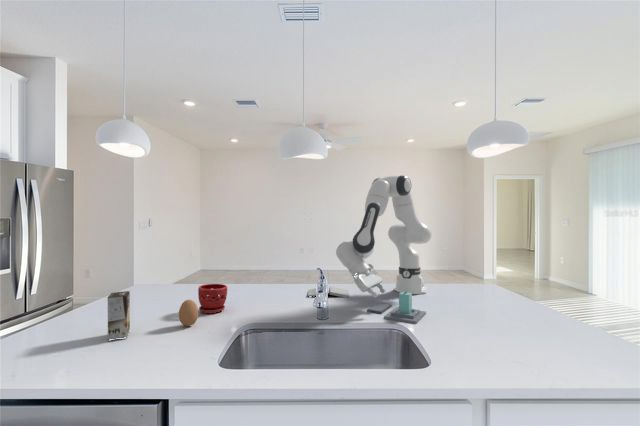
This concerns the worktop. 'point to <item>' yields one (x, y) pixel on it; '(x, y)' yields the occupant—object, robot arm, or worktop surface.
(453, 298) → the worktop surface
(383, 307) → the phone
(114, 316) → the coffee box
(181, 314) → the egg
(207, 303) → the plant pot
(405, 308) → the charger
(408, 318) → the plate
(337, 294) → the gadget
